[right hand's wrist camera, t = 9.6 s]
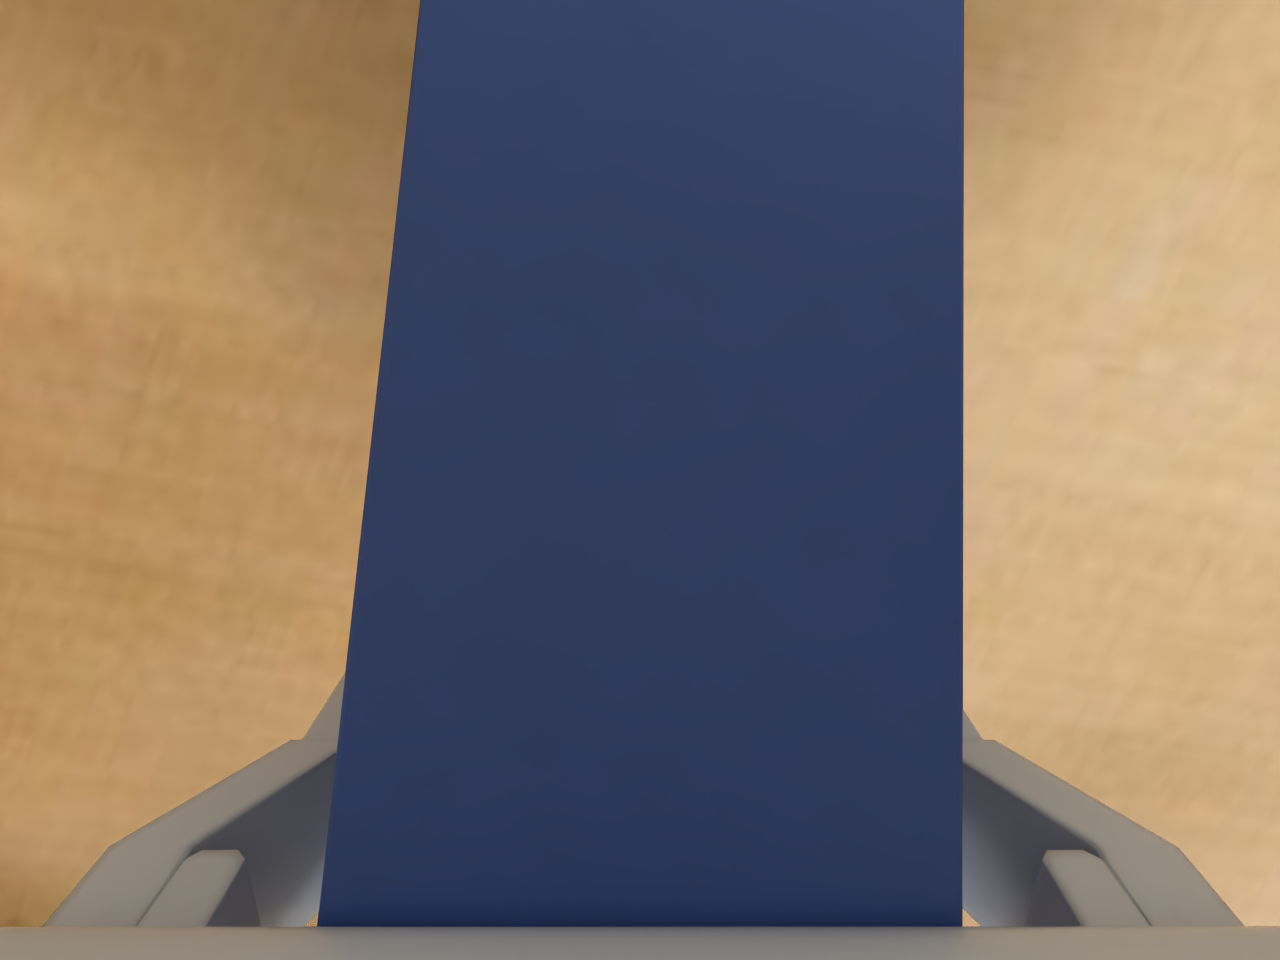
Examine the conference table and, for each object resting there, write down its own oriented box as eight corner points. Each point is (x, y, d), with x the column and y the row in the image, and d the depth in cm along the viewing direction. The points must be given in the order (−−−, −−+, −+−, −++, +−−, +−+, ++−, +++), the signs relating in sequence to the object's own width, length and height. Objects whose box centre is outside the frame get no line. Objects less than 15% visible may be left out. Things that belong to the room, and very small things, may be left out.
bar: (773, 849, 14) (965, 1259, 5) (500, 830, 14) (280, 1208, 5) (814, -366, 17) (968, -1229, 9) (598, -374, 17) (555, -1238, 9)
